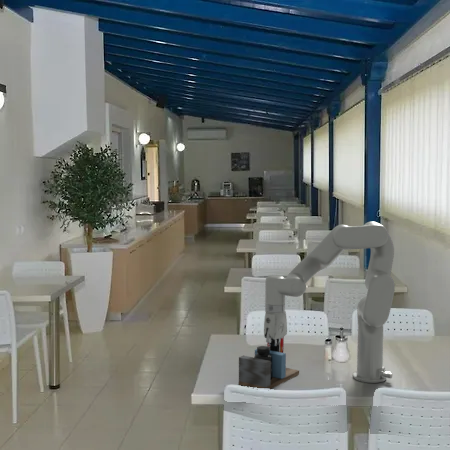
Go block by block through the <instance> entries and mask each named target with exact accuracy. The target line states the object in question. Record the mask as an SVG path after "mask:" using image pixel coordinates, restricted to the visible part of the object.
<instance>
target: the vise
mask: <svg viewBox="0 0 450 450" xmlns="http://www.w3.org/2000/svg"><path fill="white" fill-rule="evenodd" d="M298 375H300V370H298V369H295V368H289V367H286V377H284V378H282V379H280V378H275V377H272V380H271V361H268V360H263V359H258V358H254V357H252V356H247V355H241V356H239V357H238V386H241V385H244V386H243V387H245V386H250V387H257V388H270V390H272V389H274V388H275V387H278V386H280V385H281V384H283V383H285V382H287V381H288V380H291V379H292V378H294V377H297V376H298Z"/></svg>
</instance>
